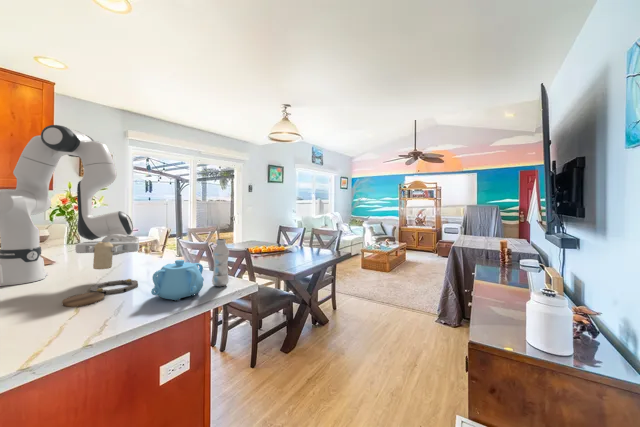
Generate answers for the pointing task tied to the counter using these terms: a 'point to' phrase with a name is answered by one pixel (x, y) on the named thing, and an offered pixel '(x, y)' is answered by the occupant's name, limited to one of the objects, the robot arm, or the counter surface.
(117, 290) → the collar
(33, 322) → the counter surface
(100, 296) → the coaster
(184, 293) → the decorative pot
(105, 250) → the candle
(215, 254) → the plastic bottle
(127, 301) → the counter surface
